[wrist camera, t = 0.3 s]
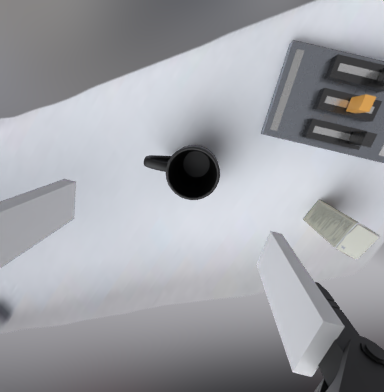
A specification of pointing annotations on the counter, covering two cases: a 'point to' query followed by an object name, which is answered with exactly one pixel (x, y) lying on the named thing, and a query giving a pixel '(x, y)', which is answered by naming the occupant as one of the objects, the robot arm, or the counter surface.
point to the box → (340, 230)
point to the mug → (188, 171)
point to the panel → (328, 101)
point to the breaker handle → (361, 104)
